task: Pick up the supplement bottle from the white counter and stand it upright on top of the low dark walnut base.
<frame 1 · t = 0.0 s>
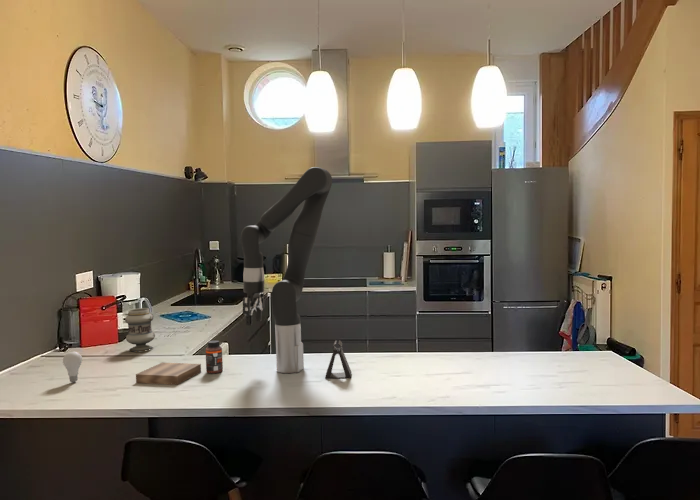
hand: (253, 323, 203), 17 cm above the countertop, tool pointing down, fingers open, 8 cm apart
lightbulb: (73, 383, 192), on the countertop
supplement bottle: (214, 372, 201), on the countertop
apothecary jar: (141, 350, 241), on the countertop
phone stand: (338, 376, 191), on the countertop
walnut base: (169, 377, 195), on the countertop
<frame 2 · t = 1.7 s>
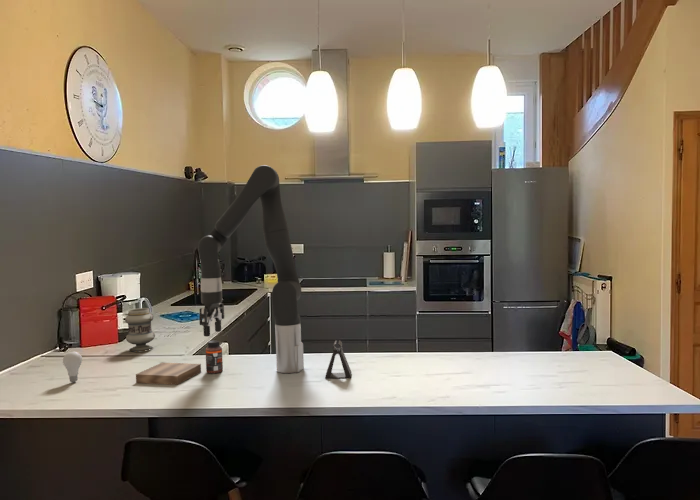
hand: (212, 333, 200), 14 cm above the countertop, tool pointing down, fingers open, 8 cm apart
nothing on the countertop moved.
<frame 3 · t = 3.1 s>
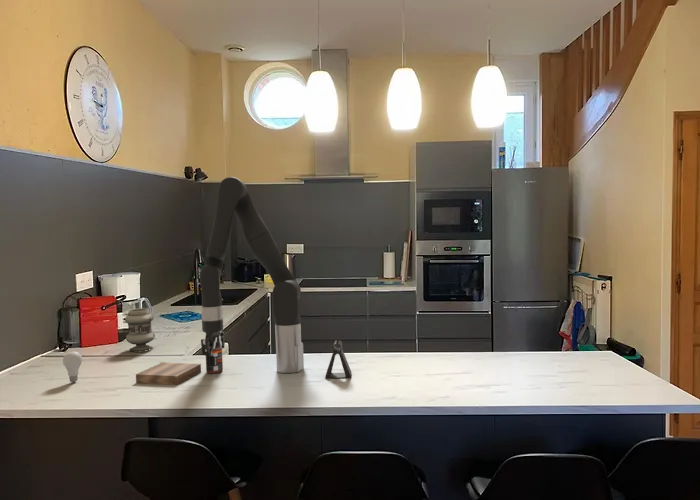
hand: (214, 363, 201), 3 cm above the countertop, tool pointing down, fingers closed on supplement bottle, 6 cm apart
supplement bottle: (214, 372, 201), on the countertop, touching gripper
everything else where it was.
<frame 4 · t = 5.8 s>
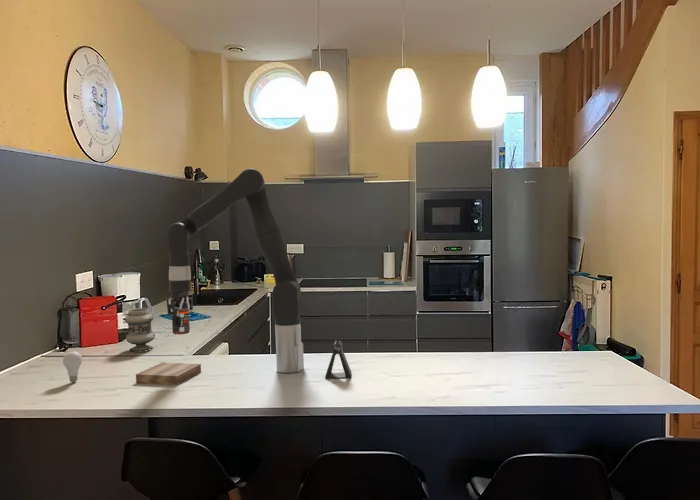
hand: (180, 324, 197), 18 cm above the countertop, tool pointing down, fingers closed on supplement bottle, 6 cm apart
supplement bottle: (181, 333, 197), point 15 cm above the countertop, touching gripper
everything else where it was.
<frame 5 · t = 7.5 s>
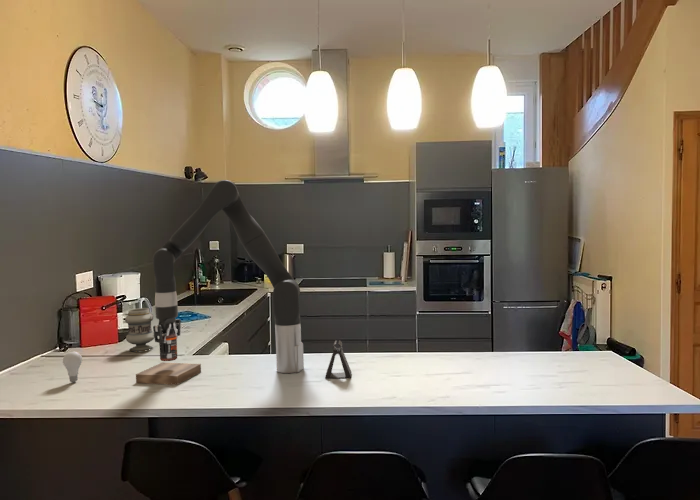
hand: (168, 351, 195), 9 cm above the countertop, tool pointing down, fingers closed on supplement bottle, 6 cm apart
supplement bottle: (168, 360, 195), point 6 cm above the countertop, touching gripper
everything else where it was.
when the fingers open (7 cm above the countertop, at t = 8.7 s): supplement bottle stays where it is, resting on walnut base.
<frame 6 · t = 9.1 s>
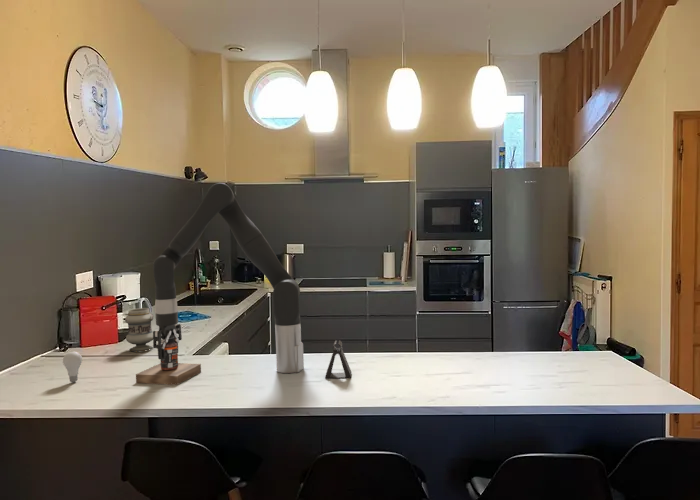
hand: (168, 356, 195), 8 cm above the countertop, tool pointing down, fingers open, 8 cm apart
supplement bottle: (169, 369, 195), point 3 cm above the countertop, touching walnut base
everything else where it was.
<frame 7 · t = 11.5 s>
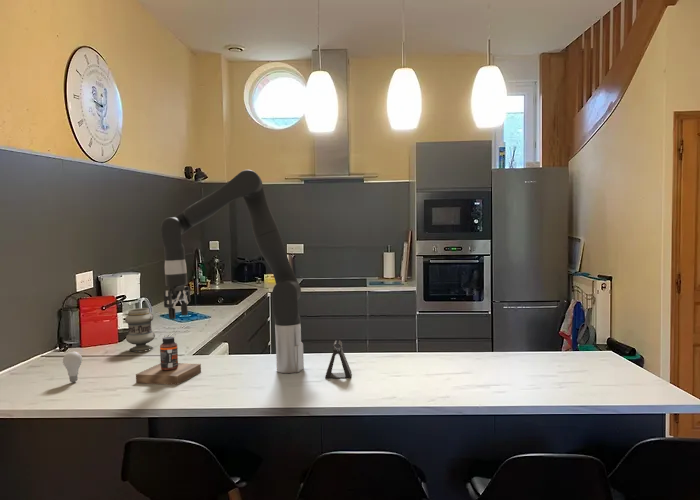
hand: (178, 316, 199), 21 cm above the countertop, tool pointing down, fingers open, 8 cm apart
nothing on the countertop moved.
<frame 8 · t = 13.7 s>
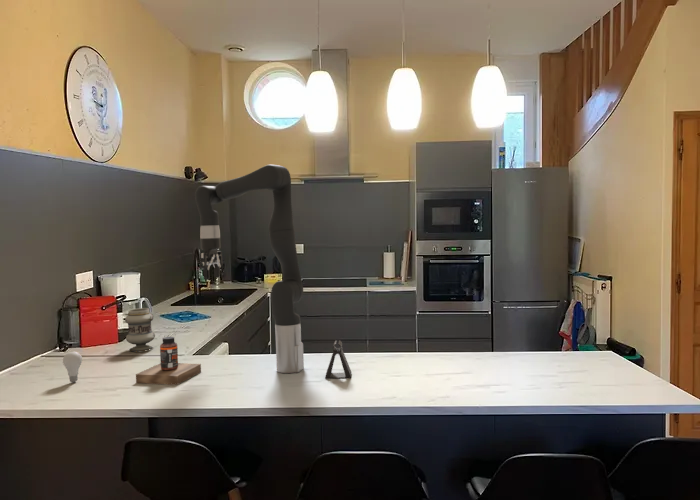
hand: (212, 278, 215), 33 cm above the countertop, tool pointing down, fingers open, 8 cm apart
nothing on the countertop moved.
at the end: supplement bottle inside the target area on the walnut base (0.1 cm from its centre), point 2.8 cm above the walnut base's base; supplement bottle tilted 0°; the gripper is holding nothing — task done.
